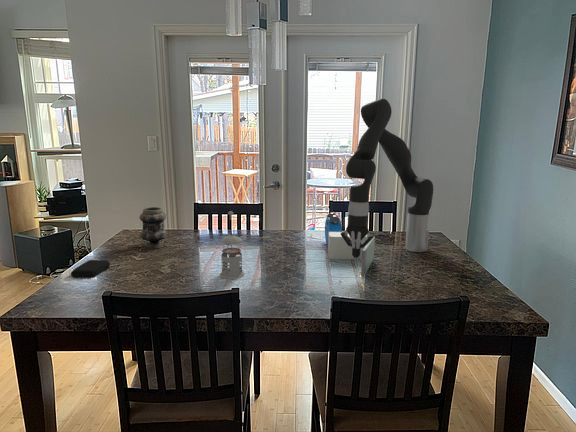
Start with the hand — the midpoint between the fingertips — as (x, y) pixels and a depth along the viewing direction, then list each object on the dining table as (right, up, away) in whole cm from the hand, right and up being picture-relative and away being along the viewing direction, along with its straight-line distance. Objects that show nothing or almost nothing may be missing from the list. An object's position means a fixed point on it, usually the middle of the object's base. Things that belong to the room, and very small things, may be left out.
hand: (355, 257), depth 163 cm
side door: (+6, -5, +9) cm, 12 cm away
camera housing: (+1, -2, +24) cm, 24 cm away
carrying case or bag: (-102, -6, +3) cm, 103 cm away
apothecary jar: (-89, +2, +37) cm, 96 cm away
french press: (-48, -7, +2) cm, 48 cm away
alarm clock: (-5, +2, +42) cm, 42 cm away
